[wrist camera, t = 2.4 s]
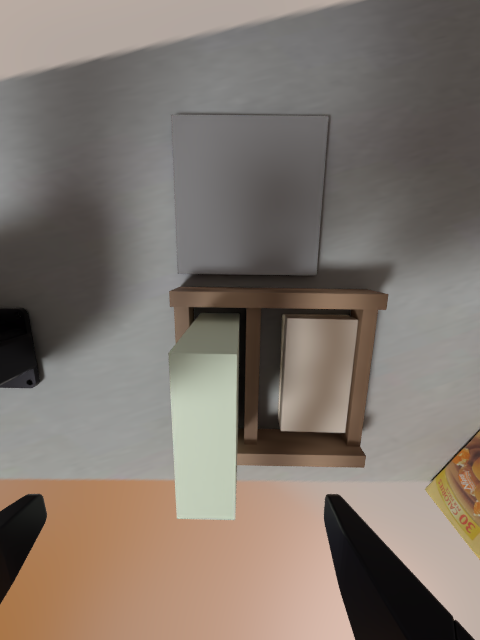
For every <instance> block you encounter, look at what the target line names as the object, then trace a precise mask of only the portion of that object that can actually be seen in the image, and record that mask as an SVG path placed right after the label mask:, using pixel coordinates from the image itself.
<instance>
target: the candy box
mask: <svg viewBox="0 0 480 640" xmlns="http://www.w3.org/2000/svg"><path fill="white" fill-rule="evenodd" d="M425 490H426V492H427V493H428V494H429V495H430V497H431V498H432V499H433V501H434V502H435V503H436V505H437V506H438V507H439V508H440V510H441V511H442V512H443V513H444V515H445V516H446V517H447V519H448V520H449V521H450V522H451V524H452V525H453V526H454V528H455V529H456V530H457V531H458V533H459V534H460V535H461V537H462V538H463V539H464V541H465V542H466V543H467V544H468V545H469V547H470V548H471V549H472V551H473V552H474V553H475V554H476V556H477V557H478V558H479V560H480V431H479V432H478V433H477V434H476V435H475V436H474V438H473V439H472V440H471V441H470V442H469V443H468V444H467V446H466V447H464V448H463V449H462V450H461V451H460V452H459V453H458V454H457V456H456V457H455V458H454V459H453V460H452V461H451V462H450V463H449V464H448V465H447V466H446V467H445V469H443V470H442V471H441V472H440V473H439V474H438V476H437V477H436V478H435V479H434V480H433V481H432V482H431V483H430V484H429V485H428V486H427V487H426V489H425Z"/></svg>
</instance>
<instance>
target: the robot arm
mask: <svg viewBox="0 0 480 640" xmlns="http://www.w3.org/2000/svg"><path fill="white" fill-rule="evenodd" d="M19 313H20V314H21V317H20V316H19ZM31 380H32V382H33V383H32V382H31ZM39 382H40V380H39V374H38V368H37V362H36V356H35V351H34V345H33V339H32V333H31V327H30V321H29V316H28V312H27V311H26V310H25V309H24V308H6V307H0V388H33V387H35V386H37V385H38V384H39ZM46 518H47V512H46V508H45V503H44V499H43V496H42V495H41V494H28V495H25V496H24V497H22V498H20V499H19V500H17V501H16V502H14V503H13V504H11V505H9V506H8V507H6V508H5V509H3V510H2V511H0V604H1V602H2V600H3V599H4V597H5V596H6V594H7V592H8V590H9V589H10V587H11V585H12V584H13V582H14V580H15V578H16V576H17V575H18V573H19V571H20V569H21V567H22V565H23V563H24V561H25V560H26V558H27V556H28V554H29V552H30V550H31V548H32V547H33V545H34V543H35V541H36V539H37V537H38V535H39V533H40V531H41V530H42V528H43V526H44V524H45V521H46ZM324 522H325V527H326V532H327V536H328V541H329V545H330V550H331V554H332V559H333V563H334V567H335V571H336V576H337V580H338V585H339V588H340V592H341V595H342V598H343V602H344V605H345V608H346V612H347V615H348V618H349V621H350V624H351V627H352V631H353V634H354V637H355V640H474V639H473V637H472V636H471V635H470V634H469V633H468V632H467V631H466V630H465V629H464V628H463V627H462V626H461V624H460V623H459V622H458V621H456V620H454V619H453V616H452V615H451V614H450V613H449V612H448V611H447V610H446V609H445V608H444V607H443V605H442V604H441V603H440V602H439V601H438V600H437V599H436V598H435V597H434V596H433V595H432V593H431V592H430V591H429V590H428V589H427V588H426V587H425V586H424V585H423V584H422V583H421V582H420V581H419V580H418V578H417V577H416V576H415V575H414V574H413V573H412V572H411V571H410V570H409V569H408V568H407V567H406V566H405V565H404V564H403V562H402V561H401V560H400V559H399V558H398V557H397V556H396V555H395V554H394V553H393V552H392V551H391V549H390V548H389V547H388V546H387V545H386V544H385V543H384V542H383V541H382V540H381V539H380V538H379V537H378V535H376V533H375V532H374V531H373V530H372V529H371V528H370V527H369V526H368V525H367V524H366V523H365V522H364V520H363V519H362V518H361V517H360V516H359V515H358V514H357V513H356V512H355V511H354V510H353V509H352V508H351V506H349V504H348V503H347V502H346V501H345V500H344V499H343V498H342V497H341V496H340V495H338V494H327V495H326V497H325V507H324Z"/></svg>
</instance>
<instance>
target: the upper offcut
mask: <svg viewBox="0 0 480 640" xmlns="http://www.w3.org/2000/svg"><path fill="white" fill-rule="evenodd" d="M357 326H358V320H357V319H355V318H353V317H341V316H302V315H285V324H284V341H283V358H282V376H281V393H280V411H279V425H280V430H281V431H297V432H330V433H345V429H346V421H347V412H348V404H349V395H350V386H351V378H352V369H353V361H354V352H355V344H356V335H357Z"/></svg>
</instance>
